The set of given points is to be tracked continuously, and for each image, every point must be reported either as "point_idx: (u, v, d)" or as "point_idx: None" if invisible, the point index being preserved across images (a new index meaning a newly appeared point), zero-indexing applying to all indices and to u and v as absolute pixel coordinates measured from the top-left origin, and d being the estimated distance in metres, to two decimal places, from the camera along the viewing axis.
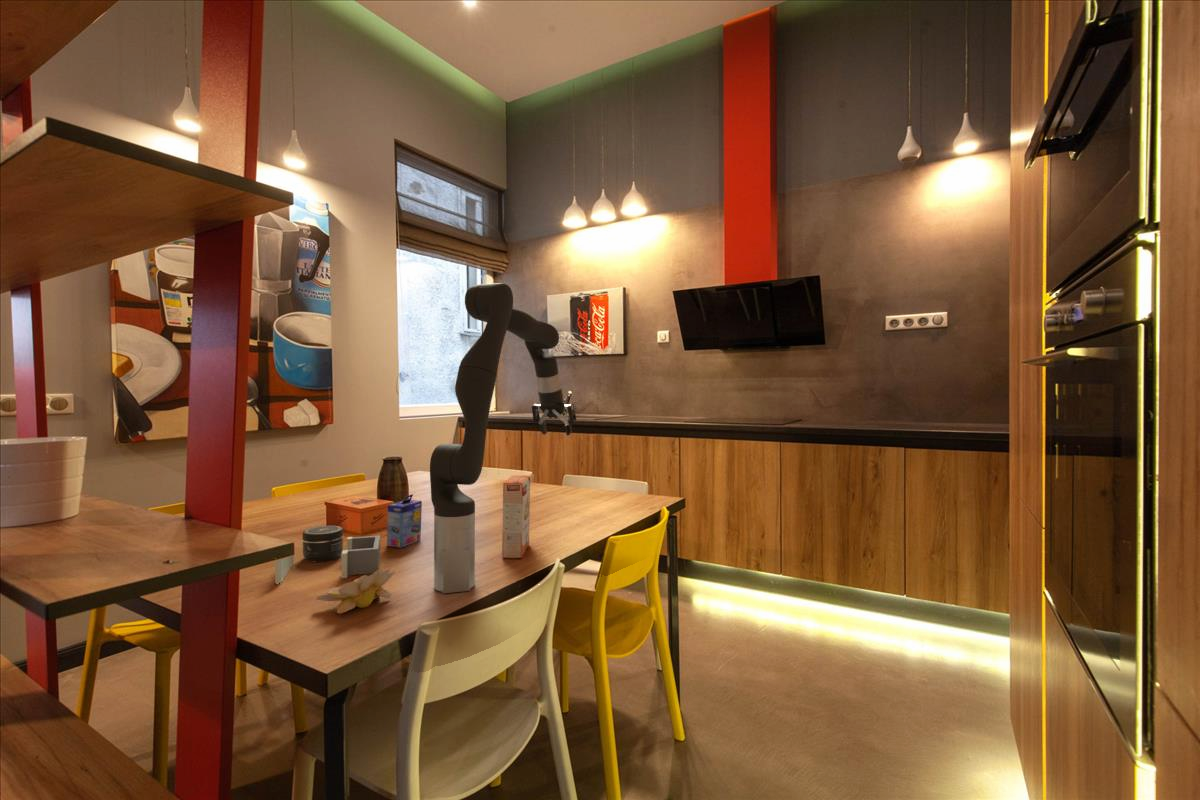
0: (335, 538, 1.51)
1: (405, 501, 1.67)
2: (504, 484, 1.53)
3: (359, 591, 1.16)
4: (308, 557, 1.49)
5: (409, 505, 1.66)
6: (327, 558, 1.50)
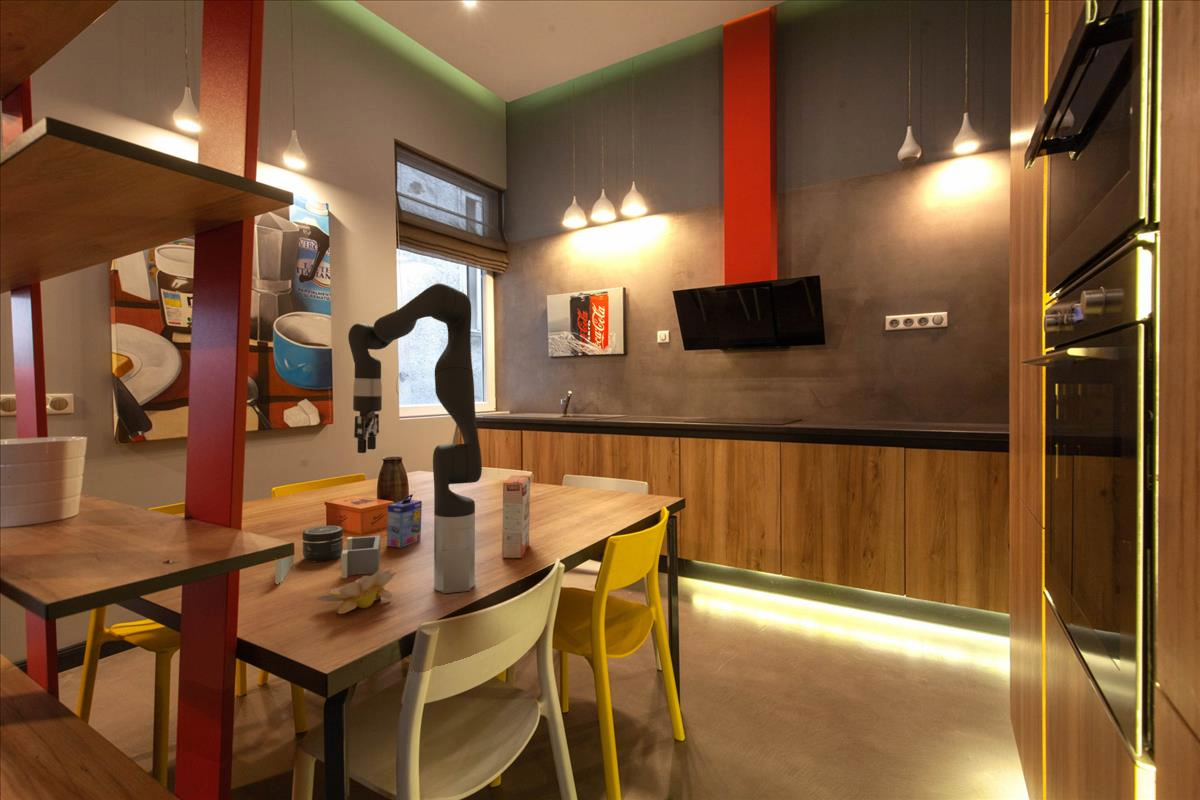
0: (335, 538, 1.51)
1: (405, 501, 1.67)
2: (504, 484, 1.53)
3: (360, 591, 1.16)
4: (308, 557, 1.49)
5: (409, 505, 1.66)
6: (327, 558, 1.50)
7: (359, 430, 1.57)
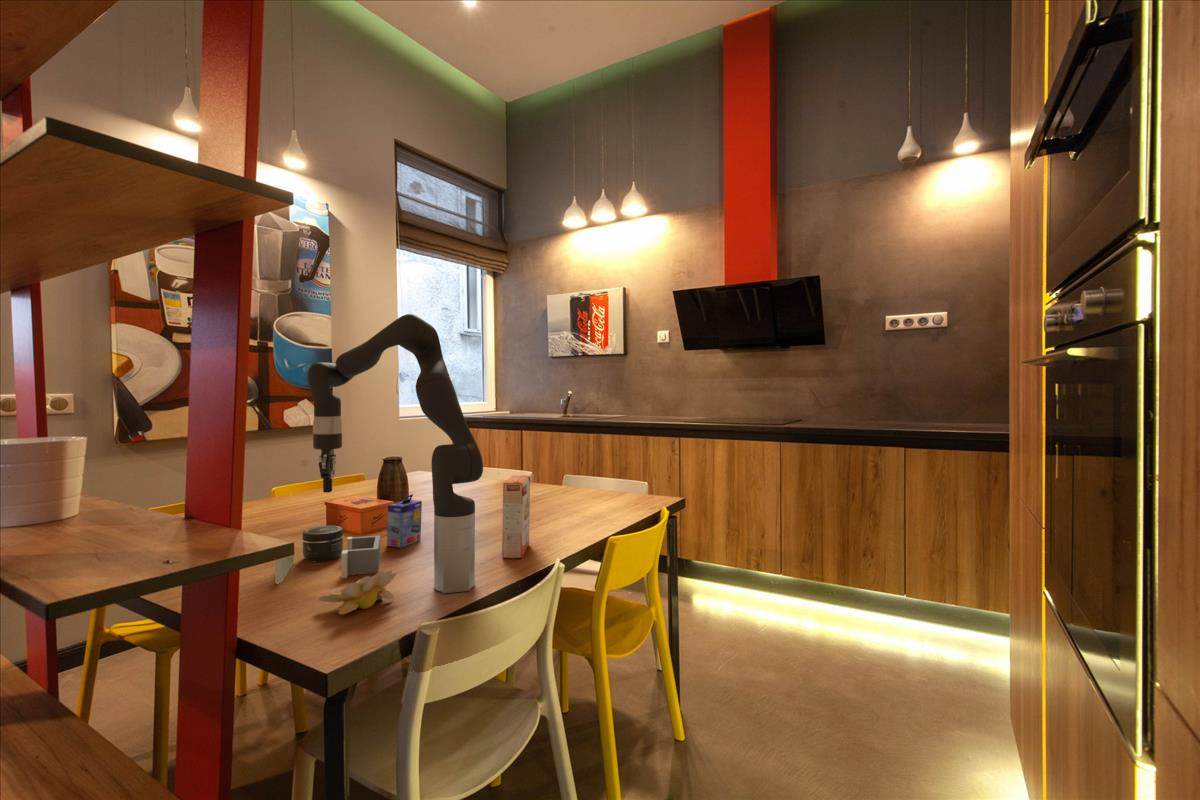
0: (335, 538, 1.51)
1: (405, 501, 1.67)
2: (504, 484, 1.53)
3: (361, 592, 1.16)
4: (308, 557, 1.49)
5: (409, 505, 1.66)
6: (327, 558, 1.50)
7: None
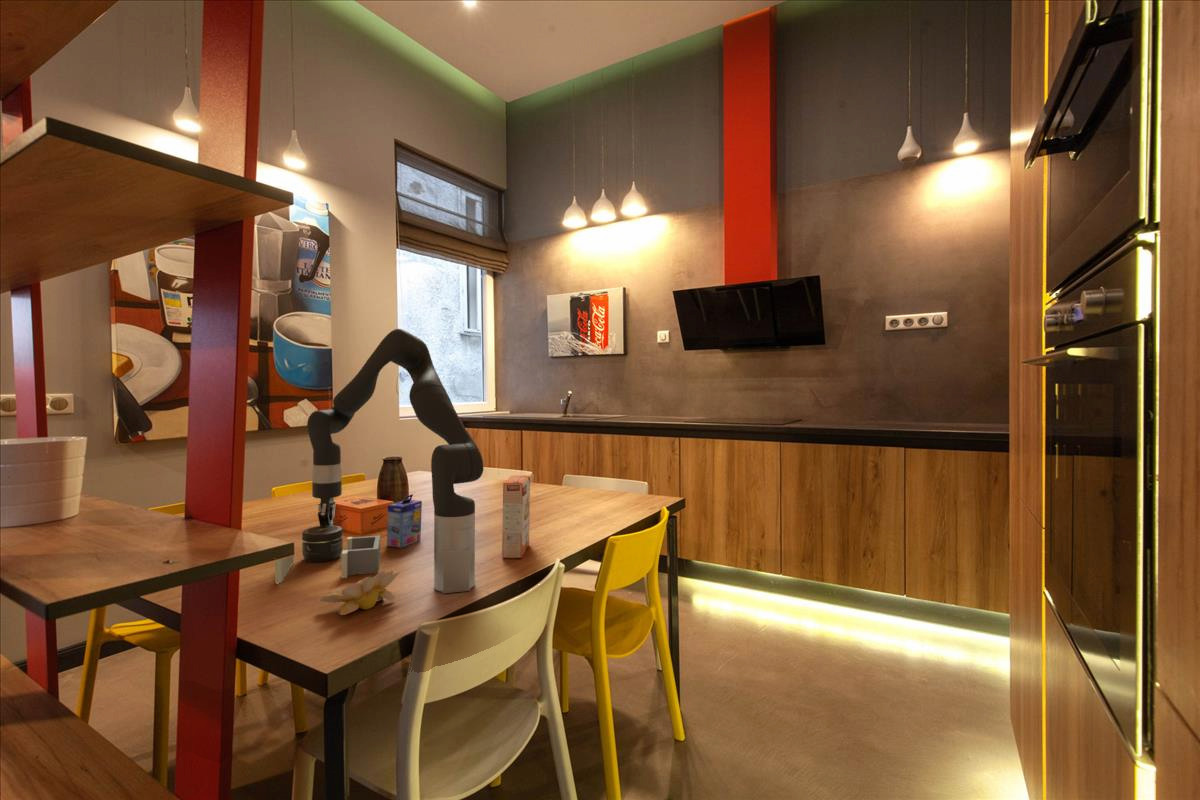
0: (335, 538, 1.51)
1: (405, 501, 1.67)
2: (504, 484, 1.53)
3: (362, 593, 1.15)
4: (308, 557, 1.48)
5: (409, 505, 1.66)
6: (327, 558, 1.49)
7: None
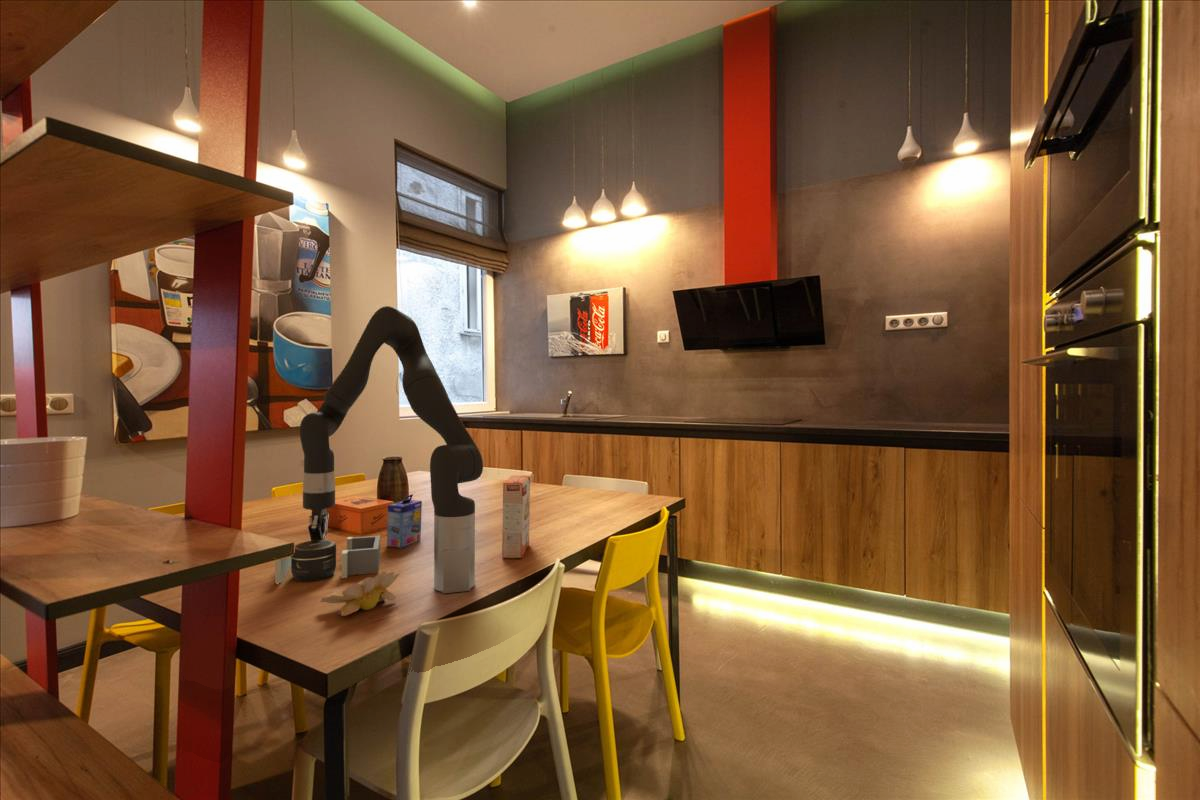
0: (327, 554, 1.36)
1: (405, 501, 1.67)
2: (504, 484, 1.53)
3: (363, 593, 1.15)
4: (297, 576, 1.34)
5: (409, 505, 1.66)
6: (319, 577, 1.35)
7: None
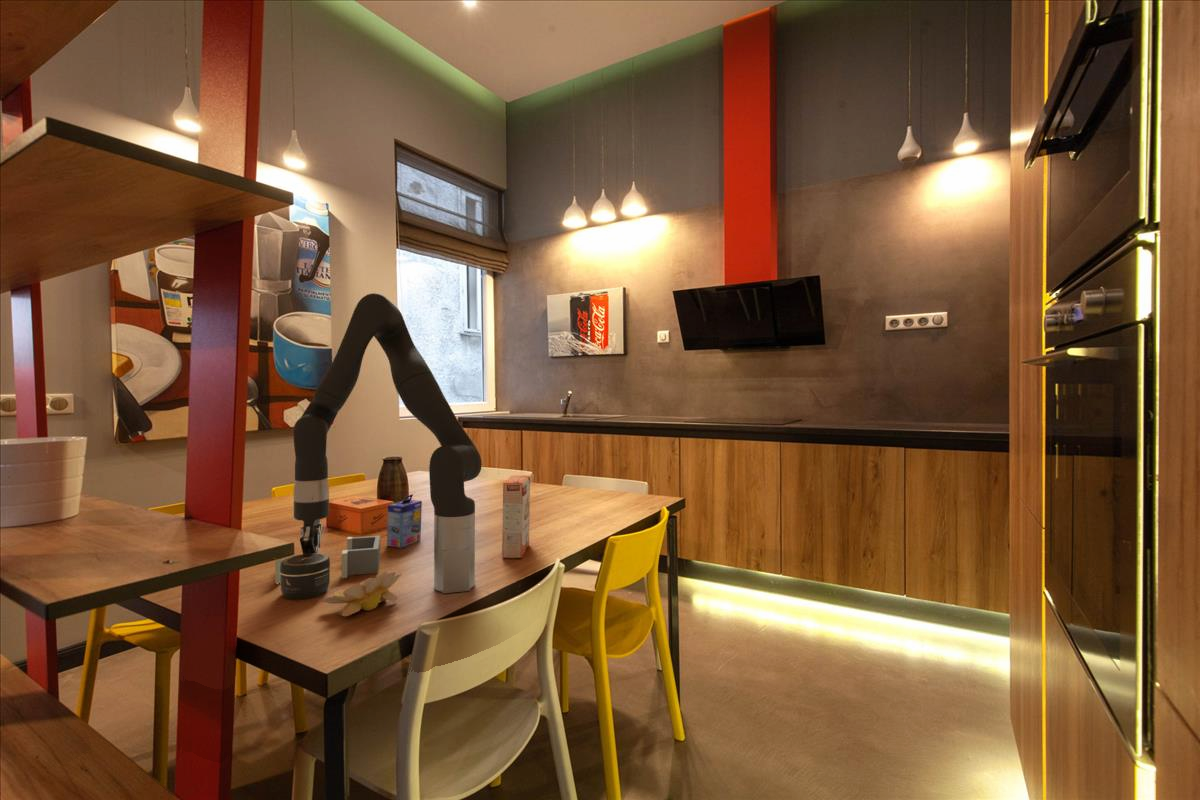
0: (320, 570, 1.25)
1: (405, 501, 1.67)
2: (504, 484, 1.53)
3: (364, 594, 1.15)
4: (287, 593, 1.23)
5: (409, 505, 1.66)
6: (310, 594, 1.24)
7: None
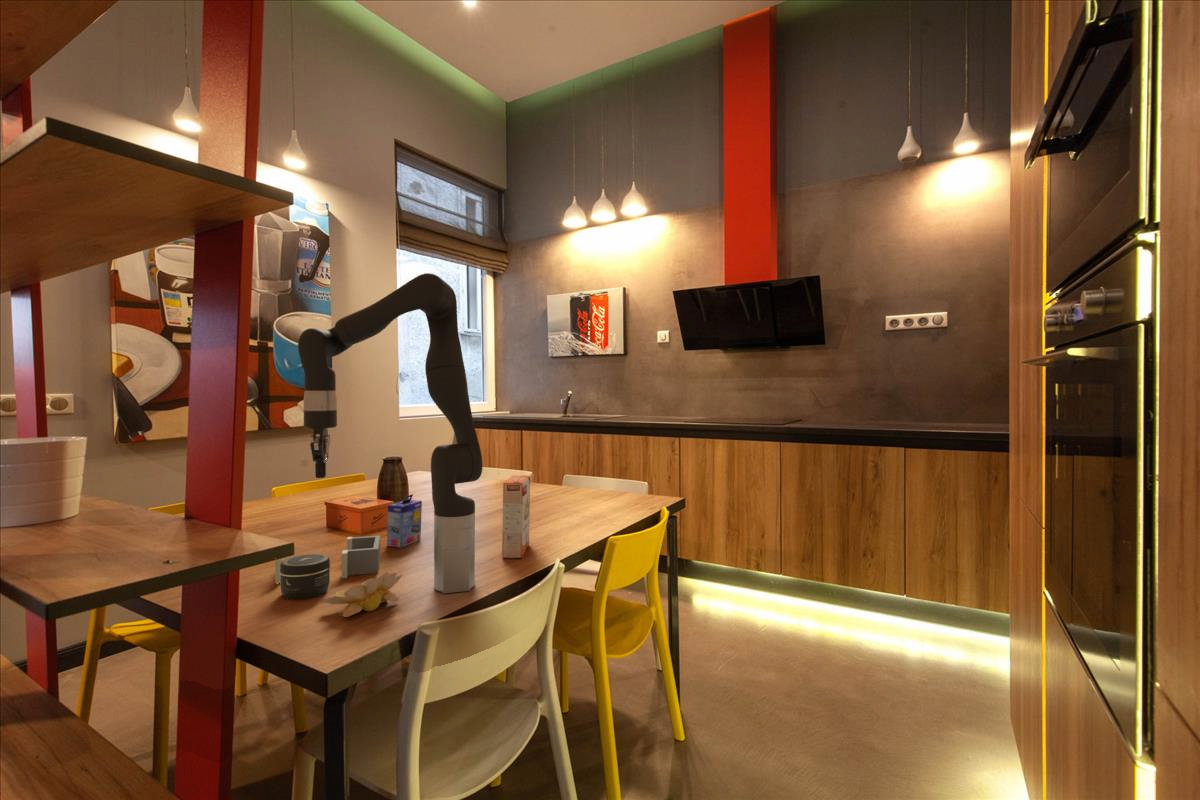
0: (320, 570, 1.25)
1: (405, 501, 1.67)
2: (504, 484, 1.53)
3: (365, 594, 1.14)
4: (287, 594, 1.23)
5: (409, 505, 1.66)
6: (310, 595, 1.24)
7: None
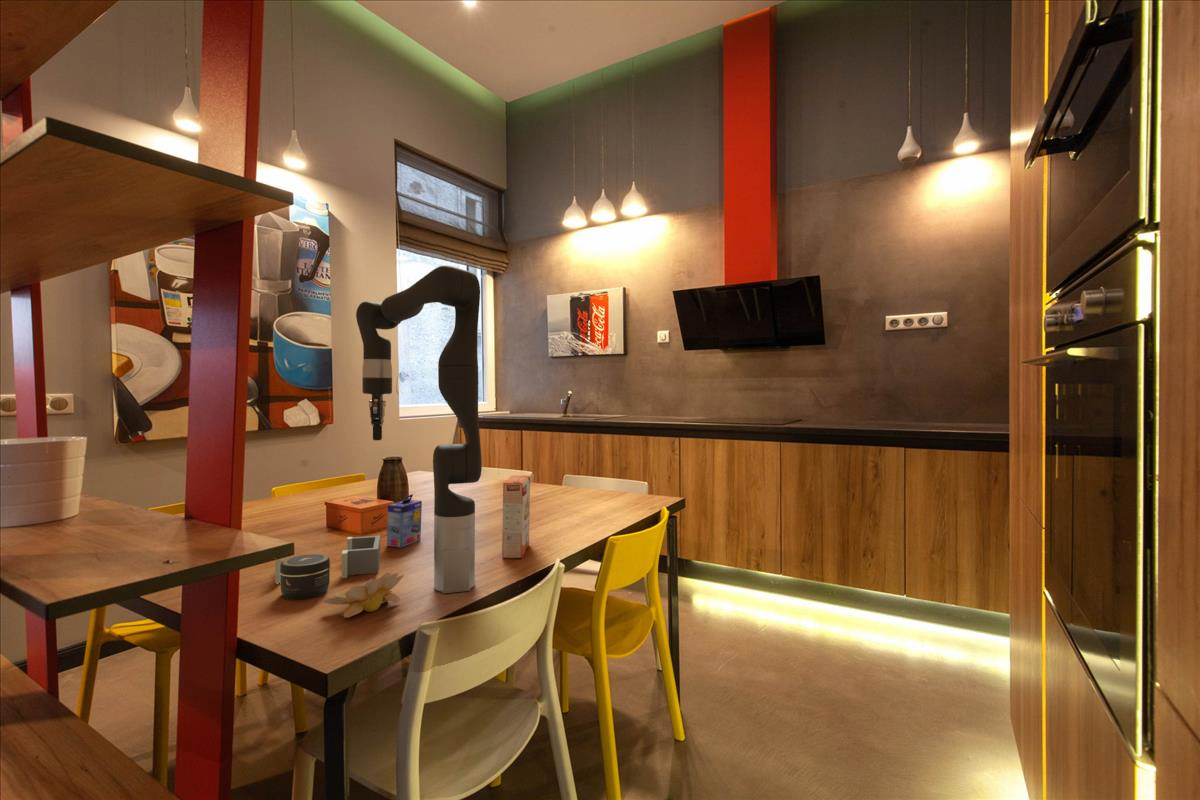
0: (320, 570, 1.25)
1: (405, 501, 1.67)
2: (504, 484, 1.53)
3: (366, 595, 1.14)
4: (287, 594, 1.23)
5: (409, 505, 1.66)
6: (310, 595, 1.24)
7: (373, 417, 1.52)
